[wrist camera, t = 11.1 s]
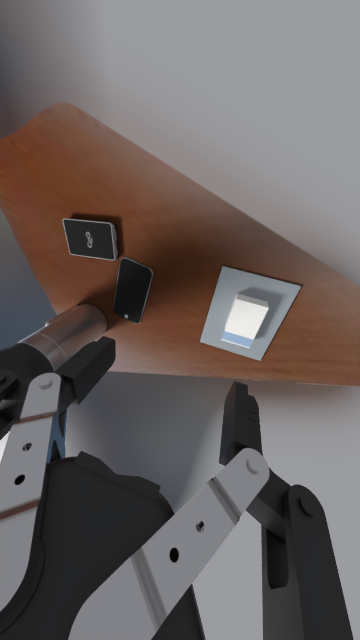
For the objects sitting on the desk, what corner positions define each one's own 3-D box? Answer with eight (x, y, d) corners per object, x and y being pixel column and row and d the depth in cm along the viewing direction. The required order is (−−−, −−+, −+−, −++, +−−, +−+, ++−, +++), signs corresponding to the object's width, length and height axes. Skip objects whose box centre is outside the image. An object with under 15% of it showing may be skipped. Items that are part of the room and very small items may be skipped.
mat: (200, 340, 45) (199, 341, 45) (222, 265, 36) (222, 266, 35) (260, 359, 43) (260, 360, 43) (300, 285, 34) (301, 286, 33)
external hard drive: (120, 258, 41) (115, 260, 40) (76, 252, 43) (69, 254, 42) (116, 222, 38) (111, 223, 36) (69, 217, 40) (61, 218, 38)
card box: (236, 293, 37) (236, 299, 35) (267, 301, 36) (269, 308, 34) (222, 332, 42) (221, 339, 40) (249, 340, 41) (249, 348, 39)
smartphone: (111, 312, 48) (120, 255, 40) (113, 311, 49) (122, 254, 41) (139, 325, 48) (154, 270, 40) (140, 324, 48) (155, 269, 40)
